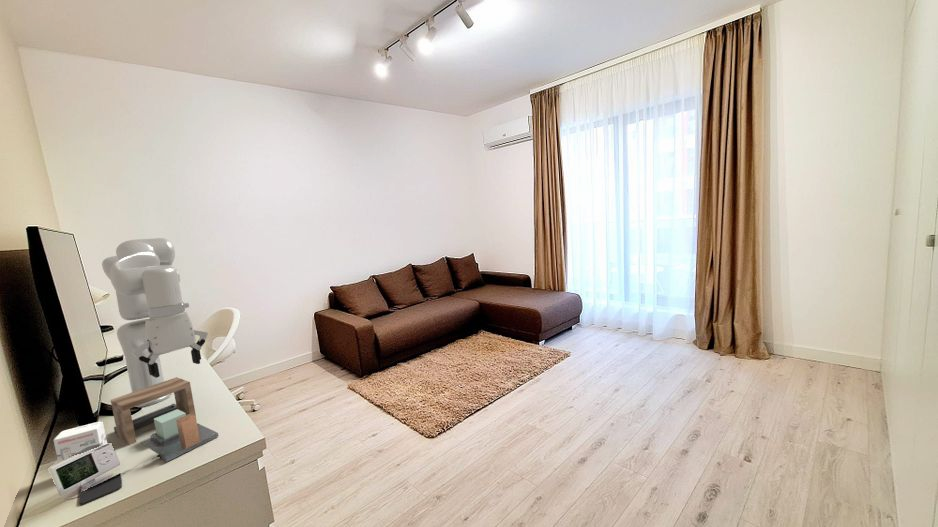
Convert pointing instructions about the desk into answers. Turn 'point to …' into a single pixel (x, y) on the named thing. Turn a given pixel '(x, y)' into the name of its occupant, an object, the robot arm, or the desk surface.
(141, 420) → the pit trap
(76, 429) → the ink box
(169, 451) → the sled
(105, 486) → the phone
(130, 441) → the tunnel
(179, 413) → the sage block
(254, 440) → the desk surface
